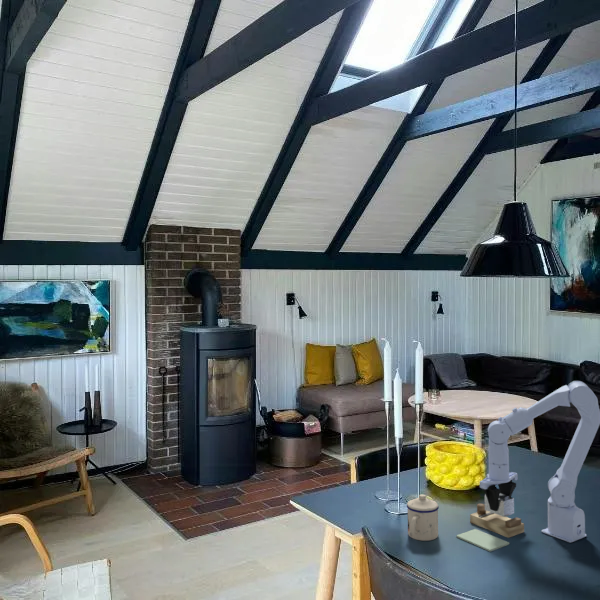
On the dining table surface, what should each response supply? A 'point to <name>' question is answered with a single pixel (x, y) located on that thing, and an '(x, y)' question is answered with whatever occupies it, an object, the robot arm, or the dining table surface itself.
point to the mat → (482, 540)
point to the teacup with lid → (422, 518)
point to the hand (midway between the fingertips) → (499, 508)
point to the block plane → (496, 522)
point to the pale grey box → (502, 505)
